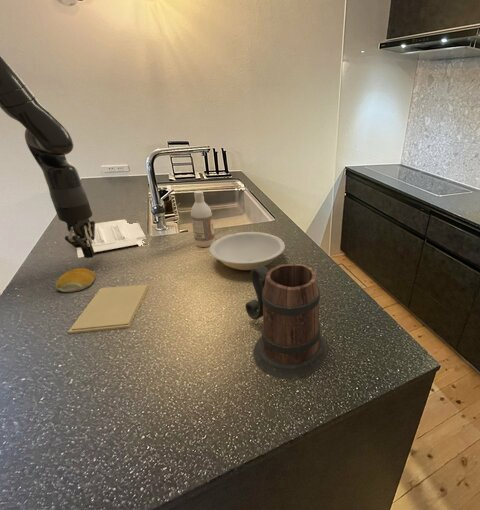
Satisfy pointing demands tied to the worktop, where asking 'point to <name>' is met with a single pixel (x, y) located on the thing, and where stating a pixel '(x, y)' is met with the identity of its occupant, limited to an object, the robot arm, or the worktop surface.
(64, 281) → the bread roll
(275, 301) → the tankard
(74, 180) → the robot arm
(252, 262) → the soup bowl
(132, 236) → the tray
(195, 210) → the bath foam
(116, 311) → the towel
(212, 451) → the worktop surface
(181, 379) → the worktop surface
